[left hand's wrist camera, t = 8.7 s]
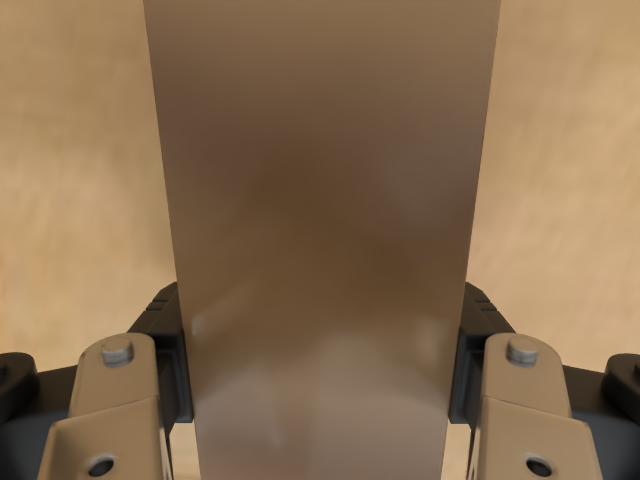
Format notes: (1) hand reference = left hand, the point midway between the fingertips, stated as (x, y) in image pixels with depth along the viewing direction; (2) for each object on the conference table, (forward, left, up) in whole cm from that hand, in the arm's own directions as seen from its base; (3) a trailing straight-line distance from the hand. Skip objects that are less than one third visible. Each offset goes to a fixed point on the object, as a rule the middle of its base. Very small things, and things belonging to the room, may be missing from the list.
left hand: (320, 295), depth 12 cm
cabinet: (+1, +5, -6) cm, 7 cm away
